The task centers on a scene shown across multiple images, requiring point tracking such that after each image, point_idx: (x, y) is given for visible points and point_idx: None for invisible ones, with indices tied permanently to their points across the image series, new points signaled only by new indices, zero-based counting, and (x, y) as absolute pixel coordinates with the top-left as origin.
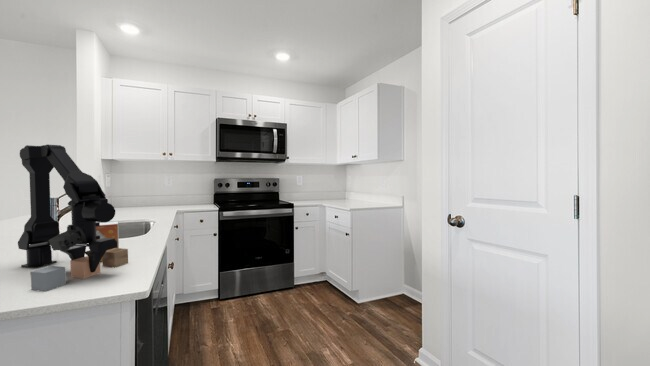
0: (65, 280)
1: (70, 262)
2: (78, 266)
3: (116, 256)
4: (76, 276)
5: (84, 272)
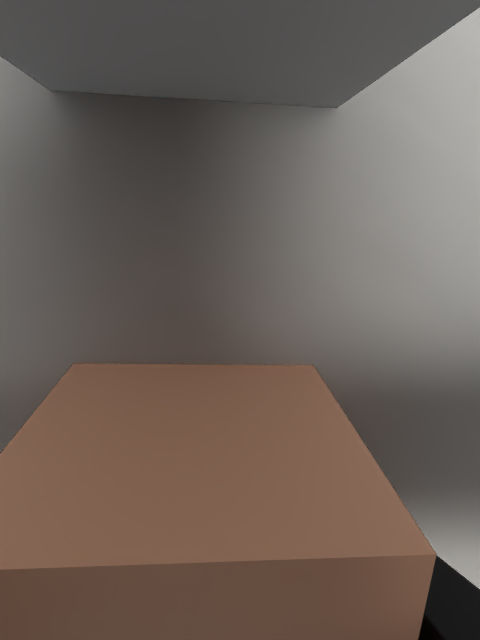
0: (22, 64)
1: (410, 516)
2: (149, 465)
3: None
4: (212, 369)
5: (45, 413)
